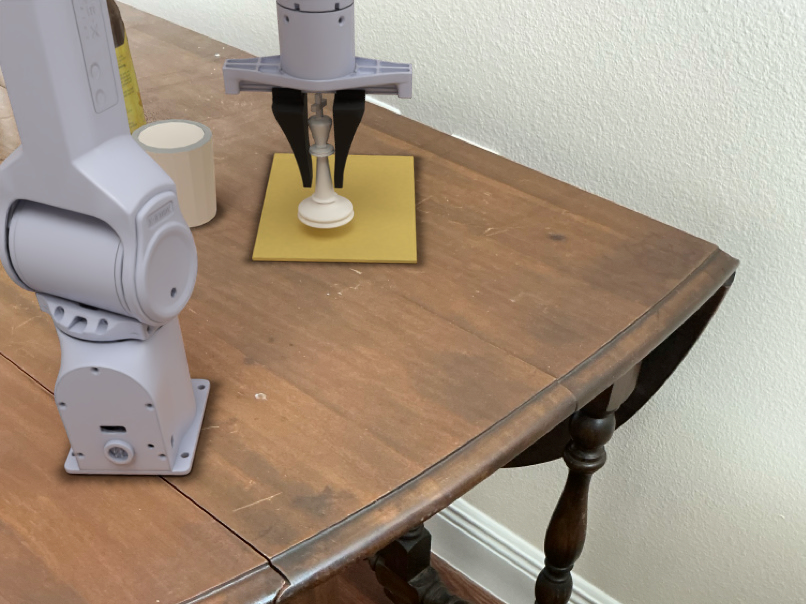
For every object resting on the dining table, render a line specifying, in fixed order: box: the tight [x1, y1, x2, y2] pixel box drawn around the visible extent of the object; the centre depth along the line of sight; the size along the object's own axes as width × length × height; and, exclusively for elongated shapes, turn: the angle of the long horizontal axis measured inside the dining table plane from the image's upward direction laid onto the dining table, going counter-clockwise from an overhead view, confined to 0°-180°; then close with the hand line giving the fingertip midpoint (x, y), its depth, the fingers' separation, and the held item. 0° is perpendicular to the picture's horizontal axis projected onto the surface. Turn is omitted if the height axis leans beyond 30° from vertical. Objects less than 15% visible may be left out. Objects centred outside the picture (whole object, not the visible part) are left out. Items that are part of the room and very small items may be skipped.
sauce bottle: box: [106, 0, 148, 135], centre depth 76 cm, size 6×6×20 cm
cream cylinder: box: [131, 118, 218, 228], centre depth 74 cm, size 7×7×7 cm
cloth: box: [251, 152, 418, 264], centre depth 78 cm, size 20×14×1 cm
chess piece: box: [298, 93, 354, 228], centre depth 70 cm, size 5×5×10 cm
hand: (323, 182), depth 72 cm, fingers closed on chess piece
